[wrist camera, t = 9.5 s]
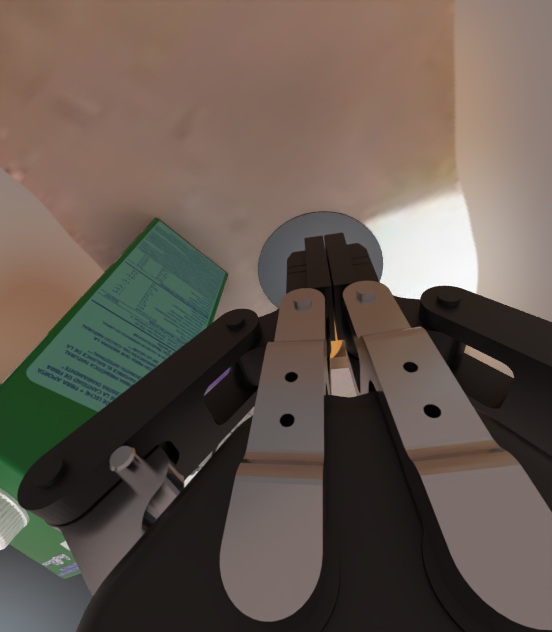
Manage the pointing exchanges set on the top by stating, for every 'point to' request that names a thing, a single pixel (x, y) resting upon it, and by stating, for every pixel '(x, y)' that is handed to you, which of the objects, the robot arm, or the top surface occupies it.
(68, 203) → the top surface
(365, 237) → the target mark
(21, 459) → the milk carton
